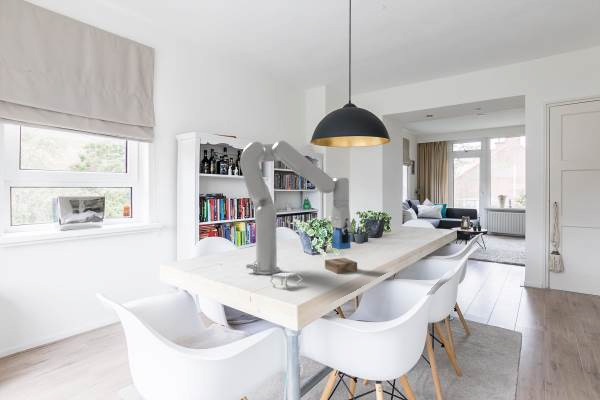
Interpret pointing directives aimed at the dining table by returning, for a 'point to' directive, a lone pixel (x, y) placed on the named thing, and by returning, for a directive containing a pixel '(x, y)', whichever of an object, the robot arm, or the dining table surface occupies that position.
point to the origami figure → (285, 277)
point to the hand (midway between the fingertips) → (341, 241)
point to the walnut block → (341, 265)
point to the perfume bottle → (339, 240)
